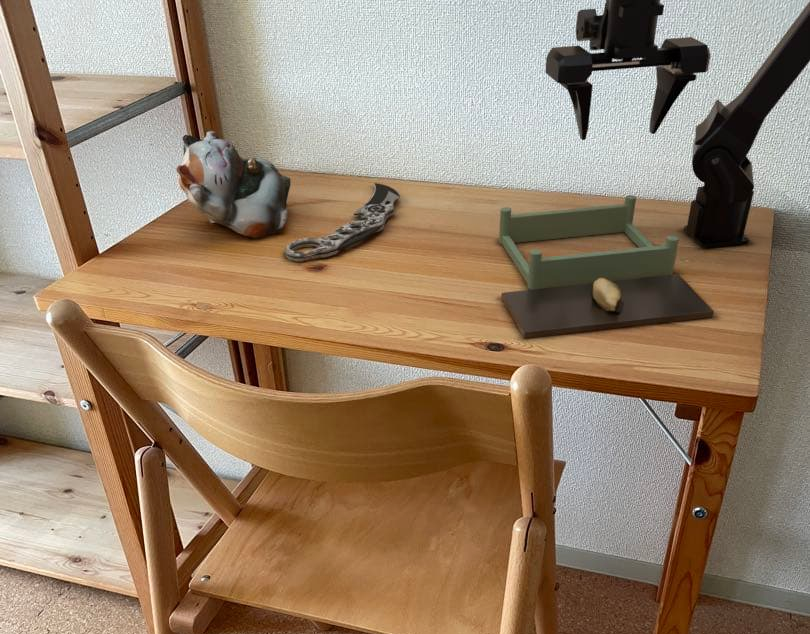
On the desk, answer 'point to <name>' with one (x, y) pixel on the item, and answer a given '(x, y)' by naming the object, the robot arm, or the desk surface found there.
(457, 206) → the desk surface
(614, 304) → the brazil nut
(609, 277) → the frame
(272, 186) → the lucky cat figurine
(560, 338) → the desk surface
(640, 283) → the board
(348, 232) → the knife
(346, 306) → the desk surface
